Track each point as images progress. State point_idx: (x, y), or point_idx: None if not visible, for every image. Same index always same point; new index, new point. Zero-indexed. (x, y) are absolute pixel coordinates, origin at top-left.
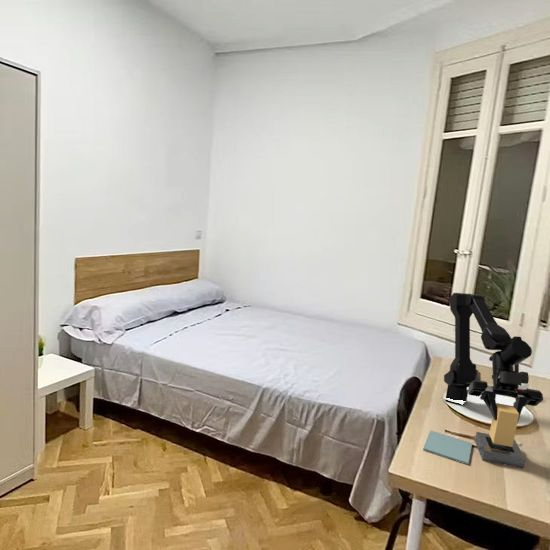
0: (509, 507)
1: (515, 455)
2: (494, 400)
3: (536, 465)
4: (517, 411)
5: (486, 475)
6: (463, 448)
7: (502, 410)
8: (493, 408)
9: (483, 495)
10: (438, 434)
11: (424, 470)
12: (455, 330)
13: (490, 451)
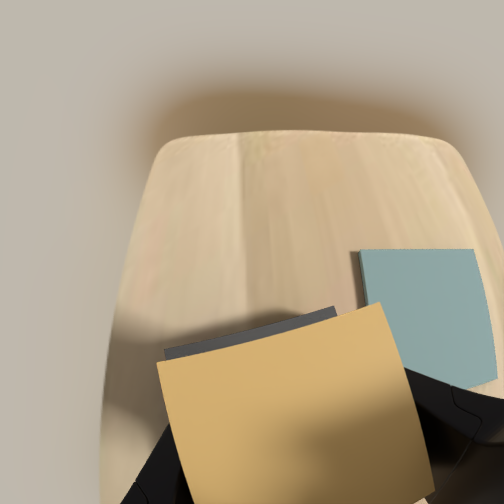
0: (231, 138)
1: (203, 350)
2: (483, 432)
3: (128, 407)
4: (175, 475)
5: (297, 229)
6: (397, 338)
7: (356, 336)
8: (432, 380)
9: (290, 145)
10: (477, 371)
11: (424, 168)
12: None
13: (309, 314)
